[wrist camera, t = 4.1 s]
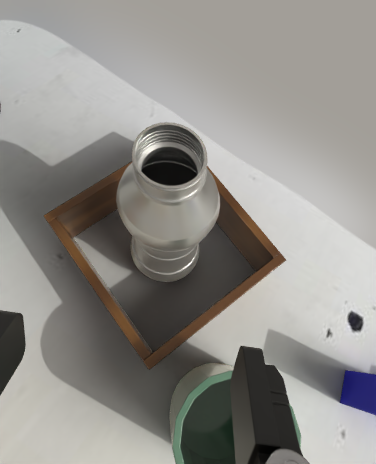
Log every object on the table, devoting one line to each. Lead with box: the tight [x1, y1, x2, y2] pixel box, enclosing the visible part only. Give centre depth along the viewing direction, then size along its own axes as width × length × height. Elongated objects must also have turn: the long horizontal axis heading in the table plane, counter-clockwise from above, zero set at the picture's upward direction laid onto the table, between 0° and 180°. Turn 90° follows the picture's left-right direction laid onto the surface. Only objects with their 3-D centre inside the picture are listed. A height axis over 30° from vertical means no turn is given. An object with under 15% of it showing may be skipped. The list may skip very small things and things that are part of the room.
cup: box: [169, 363, 301, 464], centre depth 27 cm, size 8×8×10 cm
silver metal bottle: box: [116, 122, 220, 282], centre depth 26 cm, size 6×7×20 cm
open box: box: [44, 162, 286, 370], centre depth 33 cm, size 16×15×6 cm
